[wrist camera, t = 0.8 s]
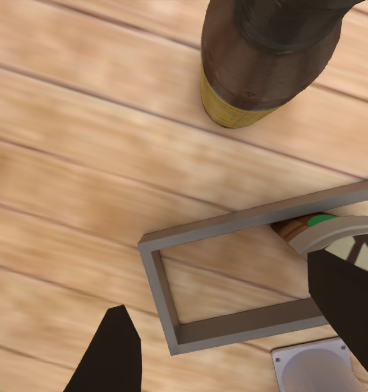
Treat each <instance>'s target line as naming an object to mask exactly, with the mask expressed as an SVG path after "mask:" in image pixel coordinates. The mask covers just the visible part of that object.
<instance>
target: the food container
mask: <svg viewBox="0 0 368 392" xmlns="http://www.w3.org/2000/svg"><path fill="white" fill-rule="evenodd" d="M270 227H271V228H272V229H273V230H274V231H275V232H276V233H277V234H278V235H279V236H281V237H282V238H283V239H284V240H285V241H286V242H287V243H288V244H289V245H290V246H291V247H292V248H293V249H294V250H295V251H296V252H298V253H299V254H300V255H301V256H302V257H303V258H304V259H305V260H307V253H309V252H312V251H316V250H319V249H324V250H326V251H328V252H330V253H332V254H334V255H336V256H338V257H340V258H342V259H344V260H346V261H348V262H350V263H352V264H354V265H356V266H358V267H360V268H362V269H364V270H366V271H368V216H345V217H338V216H335V215H331V214H327V213H324V212H316V213H312V214H307V215H303V216H299V217H295V218H290V219H286V220H282V221H278V222H274V223H273V224H272V225H271V226H270Z"/></svg>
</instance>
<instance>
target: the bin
mask: <svg viewBox="0 0 368 392" xmlns="http://www.w3.org/2000/svg"><path fill="white" fill-rule="evenodd" d="M366 200H368V180H366V181H362V182H357V183H353V184H349V185H345V186H341V187H337V188H333V189H329V190H325V191H320V192H316V193H312V194H308V195H304V196H300V197H296V198H292V199H288V200H283V201H279V202H275V203H271V204H267V205H263V206H259V207H255V208H251V209H246V210H242V211H238V212H234V213H230V214H226V215H222V216H218V217H214V218H209V219H205V220H201V221H197V222H193V223H189V224H185V225H181V226H177V227H172V228H168V229H164V230H160V231H156V232H152V233H148V234H144V235H143V237H142V238H141V240H140V241H139V243H138V247H139V251H140V254H141V257H142V261H143V264H144V267H145V271H146V274H147V277H148V281H149V284H150V287H151V291H152V294H153V297H154V301H155V304H156V307H157V311H158V314H159V317H160V321H161V324H162V327H163V331H164V334H165V338H166V341H167V344H168V348H169V351H170V354H171V356H173V355H178V354H183V353H188V352H193V351H198V350H203V349H208V348H213V347H218V346H223V345H228V344H233V343H238V342H243V341H248V340H253V339H258V338H263V337H268V336H273V335H278V334H283V333H288V332H293V331H298V330H303V329H308V328H313V327H318V326H323V325H328V324H329V323H328V321H327V320H326V319H325V317H324V316H323V314H322V313H321V311H320V310H319V308H318V306H317V305H316V303H315V301H314V300H313V298H307V299H302V300H298V301H293V302H288V303H283V304H278V305H274V306H269V307H264V308H259V309H255V310H250V311H245V312H240V313H235V314H231V315H226V316H221V317H216V318H212V319H207V320H202V321H197V322H193V323H188V324H183V325H180V324H179V320H178V317H177V313H176V310H175V306H174V303H173V299H172V296H171V292H170V289H169V286H168V282H167V279H166V275H165V272H164V268H163V265H162V261H161V258H160V254H159V251H158V250H160V249H164V248H168V247H172V246H176V245H181V244H185V243H189V242H193V241H198V240H202V239H206V238H210V237H214V236H219V235H223V234H227V233H231V232H236V231H240V230H244V229H248V228H252V227H257V226H261V225H265V224H269V223H274V222H278V221H282V220H286V219H290V218H295V217H299V216H303V215H307V214H312V213H316V212H320V211H324V210H328V209H333V208H337V207H341V206H345V205H350V204H354V203H358V202H362V201H366Z"/></svg>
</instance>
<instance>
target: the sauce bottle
mask: <svg viewBox="0 0 368 392" xmlns="http://www.w3.org/2000/svg"><path fill="white" fill-rule="evenodd" d="M363 1H365V0H210V3H209V5H208V8H207V11H206V16H205V20H204V24H203V29H202V35H201V96H202V101H203V105H204V108H205V111H206V112H207V114H208V115H209V116H210V117H211V119H212V120H214V121H215V122H216V123H218V124H219V125H221V126H223V127H225V128H240V127H245V126H248V125H251V124H253V123H254V122H256V121H258V120H260V119H261V118H263V117H265V116H266V115H268V114H269V113H271V112H273V111H274V110H276V109H278V108H279V107H281V106H282V105H284V104H286V103H287V102H289V101H290V100H291V99H293V98H294V97H295V96H296V95H297V94H298V93H300V92H301V91H303V90H304V89H306V88H307V87H308V86H309V85H310V84H311V83H312V82H313V81H314V80H315V79H316V78H317V77H318V76H319V74H320V73H321V72H322V71H323V69H324V68H325V66H326V65H327V63H328V61H329V60H330V59H331V57H332V55H333V52H334V50H335V48H336V45H337V43H338V41H339V39H340V33H341V25H342V19H343V17H344V15H345V14H346V13H347V12H348V11H349V10H350V9H351V8H352V7H353V6H354V5H355V4H358V3H361V2H363Z"/></svg>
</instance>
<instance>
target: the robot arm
mask: <svg viewBox="0 0 368 392" xmlns="http://www.w3.org/2000/svg"><path fill="white" fill-rule="evenodd" d="M307 262H308V286H309V293H310V295H311V297H312V298H313V300H314V301H315V303H316V305H317V306H318V308H319V310H320V311H321V313H322V314H323V316H324V317H325V319H326V320H327V321H328V323H329V324H330V325H331V326H332V328H333V329H334V330H335V332H336V333H337V334H338V335H339V337H337V338H332V339H327V340H322V341H317V342H312V343H307V344H301V345H296V346H291V347H286V348H281V349H276V350H273V351H272V353H271V355H272V359H273V363H274V367H275V372H276V376H277V380H278V384H279V388H280V392H367V391H366V390H365V389H364V387H363V386H362V385H361V383H360V382H359V381H358V379H357V378H356V376H355V375H354V374H353V370H352V365H351V360H350V354H349V349H350V351H351V352H352V353H353V354H354V356H355V357H356V358H357V359H358V361H359V362H360V363H361V364H362V366H363V367H364V368H365V369H366V371H367V372H368V271H366V270H364V269H362V268H360V267H358V266H356V265H354V264H352V263H350V262H348V261H346V260H344V259H342V258H340V257H338V256H336V255H334V254H332V253H330V252H328V251H326V250H324V249H319V250H316V251H312V252H309V253H307ZM343 345H344V346H343ZM341 346H343V347H341ZM348 348H349V349H348ZM276 358H279V359H276ZM141 380H142V354H141V339H140V337H139V335H138V333H137V331H136V329H135V327H134V325H133V322H132V320H131V318H130V316H129V314H128V312H127V310H126V308H125V306H124V305H120V306H117V307H113V308H110V309H108V310H107V312H106V314H105V316H104V318H103V319H102V321H101V323H100V325H99V327H98V329H97V331H96V333H95V335H94V337H93V339H92V341H91V343H90V345H89V347H88V349H87V350H86V352H85V354H84V356H83V358H82V360H81V361H80V363H79V365H78V367H77V369H76V371H75V372H74V374H73V376H72V378H71V379H70V381H69V383H68V384H67V386H66V388H65V389H64V391H63V392H141Z"/></svg>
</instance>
